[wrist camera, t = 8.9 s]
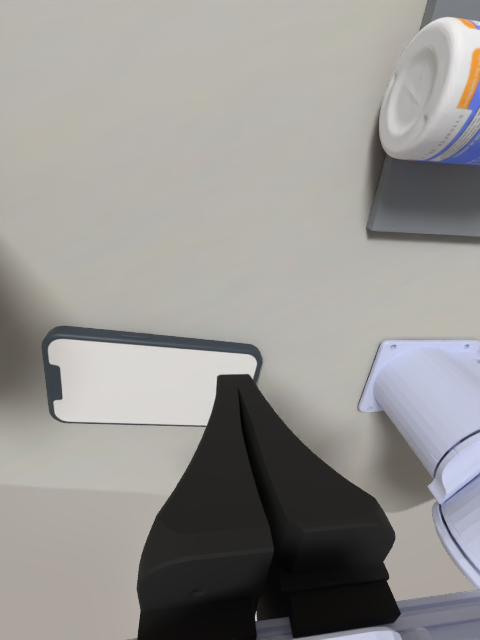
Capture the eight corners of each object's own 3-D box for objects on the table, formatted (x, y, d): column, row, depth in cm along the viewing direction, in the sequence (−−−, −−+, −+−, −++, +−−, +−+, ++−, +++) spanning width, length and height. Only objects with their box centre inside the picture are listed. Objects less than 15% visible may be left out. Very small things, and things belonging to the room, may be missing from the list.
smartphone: (262, 339, 25) (47, 319, 22) (266, 351, 24) (38, 331, 20) (240, 416, 30) (56, 410, 26) (243, 430, 28) (49, 425, 25)
